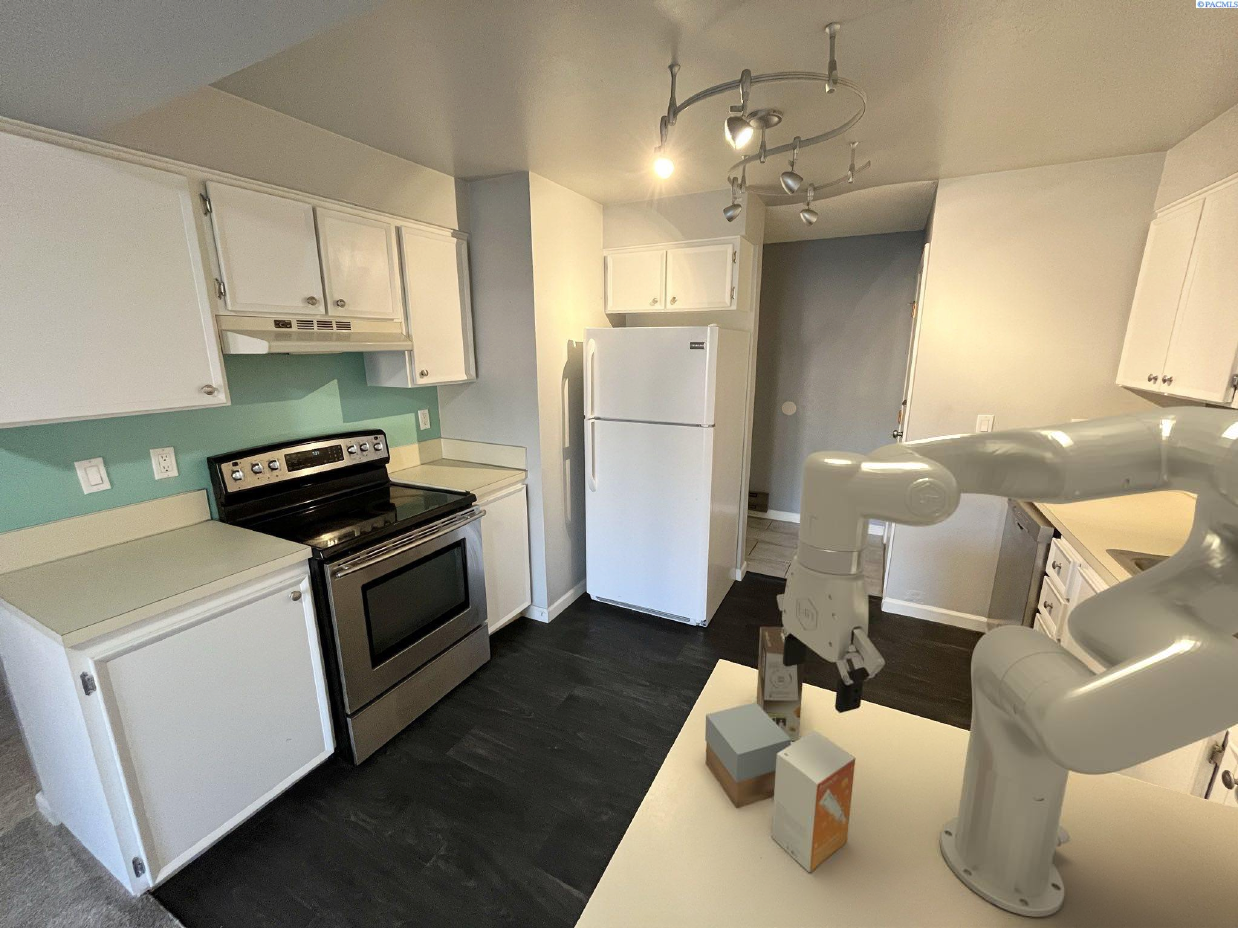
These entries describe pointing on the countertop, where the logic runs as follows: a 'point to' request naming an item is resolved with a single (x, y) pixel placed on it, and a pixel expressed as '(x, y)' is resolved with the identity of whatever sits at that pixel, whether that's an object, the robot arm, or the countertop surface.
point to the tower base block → (740, 783)
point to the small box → (812, 799)
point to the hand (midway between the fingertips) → (818, 684)
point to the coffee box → (779, 683)
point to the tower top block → (745, 740)
